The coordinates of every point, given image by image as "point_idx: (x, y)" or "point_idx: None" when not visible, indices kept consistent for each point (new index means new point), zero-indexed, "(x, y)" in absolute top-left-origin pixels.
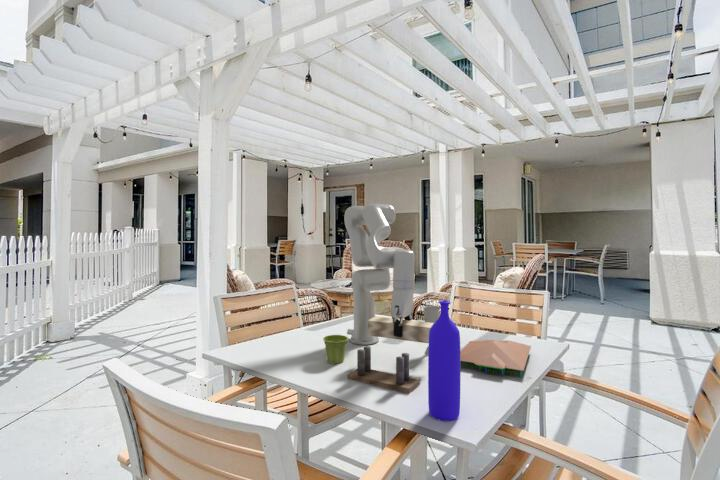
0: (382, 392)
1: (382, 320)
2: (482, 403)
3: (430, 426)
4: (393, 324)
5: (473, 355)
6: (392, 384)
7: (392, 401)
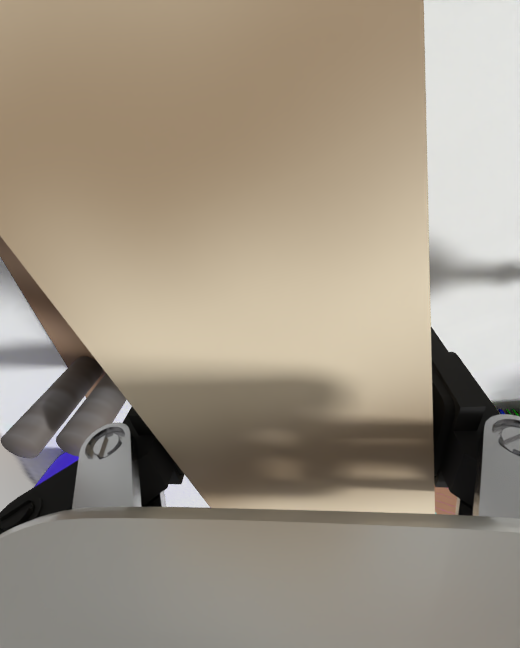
0: (28, 330)
1: (91, 175)
2: (193, 499)
3: (31, 465)
4: (92, 437)
5: (439, 491)
6: (60, 353)
7: (22, 377)
